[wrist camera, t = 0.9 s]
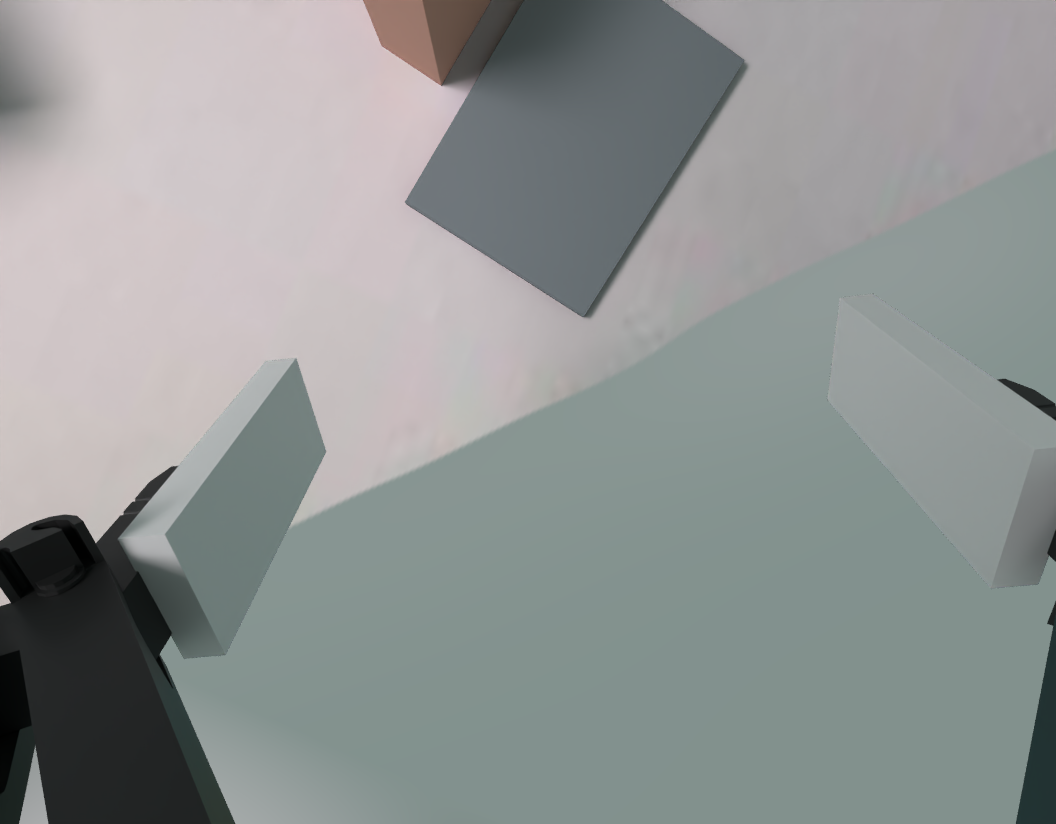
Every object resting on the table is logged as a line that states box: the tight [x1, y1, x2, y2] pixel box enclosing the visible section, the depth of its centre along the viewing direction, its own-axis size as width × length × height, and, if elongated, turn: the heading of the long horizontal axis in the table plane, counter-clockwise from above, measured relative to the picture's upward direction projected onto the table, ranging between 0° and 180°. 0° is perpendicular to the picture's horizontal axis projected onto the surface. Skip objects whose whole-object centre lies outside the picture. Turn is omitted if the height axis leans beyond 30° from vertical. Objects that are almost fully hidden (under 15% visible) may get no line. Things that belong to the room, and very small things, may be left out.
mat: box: [405, 0, 744, 317], centre depth 30 cm, size 10×14×1 cm
